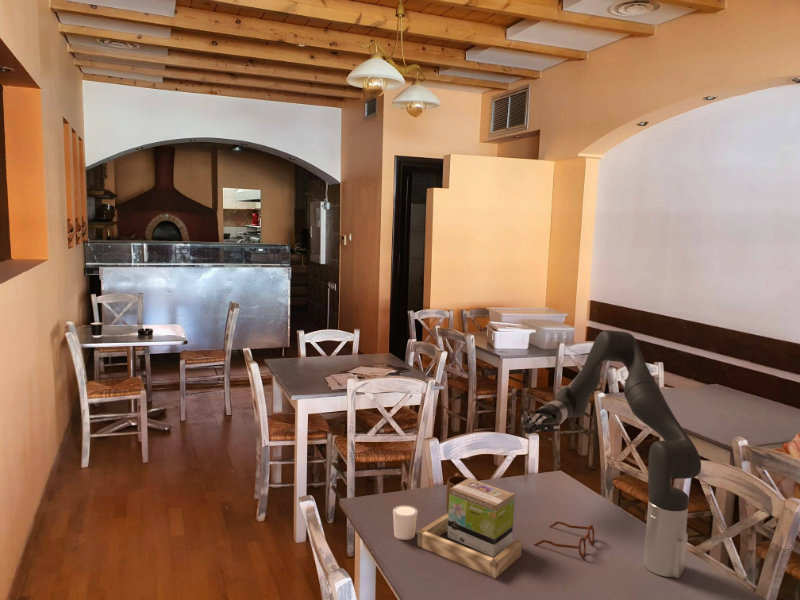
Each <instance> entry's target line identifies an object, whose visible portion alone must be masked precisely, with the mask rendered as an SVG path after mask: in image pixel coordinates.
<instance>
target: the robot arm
mask: <svg viewBox="0 0 800 600" xmlns="http://www.w3.org/2000/svg"><path fill="white" fill-rule="evenodd" d="M605 361H608V362H616V363H617V362H619V363H621V364H623V365H624V367H625V368H626V371H627V372H628V375H627V377H626V380H625V382H624V386H623V394H624V398H625V400H626V402H627V404H628V406H629V408H630V410H631V412H632V413H633V415H634V416H635V417H636V419H638V420H639V421H641V422H642V423H643V424H644V425H646V426H648V427H649V428H650V429H652V430H653V431H655V432H656V434H658V435H660V437H661V438H662V439H663V440H656V441H654V442H653V443H652V444H651V445H650V447H649V451H648V452H649V453H648V473H647V475H648V477H647V489H648V503H647V504H648V505H647V516H646V524H645V525H646V526H645V539H644V549H643V550H644V553H643V563H642V564H643V566H644V567H645V568H646V570H648V571H650V572H651V573H653V574H655V575H657V576H661V577H666V578H675V579H680V577H681V576H682V573H683V572H684V571H685V569H686V568H685V567H686V559H687V557H686V556H687V547H688V537H689V536H688V535H689V533H687V525H688V524H687V523H688V512H689V504H690V499H689V495H688V494H687V492H685V491H684V490H682V489H680V488H679V487H675V486H672V483H671V482H672V481H671V480H678V479H681V480H683V479H686V480H687V479H693V478H696V477H698V476H699V475H700V473H701V471H702V461H701V457H700V454H699V451H698V449H697V448H696V446H695V444H694V442H693V441H692V440H691V438H690V436H689V435H688V434H687V433H686V431H685V430H684V429H683V427H682V426H681V424H680V423H679V421H678V420H677V418H676V417H675V415H674V413H673V412H672V409H671V408H670V406H669V404H668V402H667V401H666V399H665V397H664V394H663V393H662V390H661V389H660V387H659V385H658V384H657V382H656V381H655V379H654V377H653V375H652V373H651V372H650V369H649V368H648V365H647V364H646V361H645V358H644V357H643V354H642V351H641V349H640V346H639V344H638V341H637V339H636V337H635V336H634V335H633V334H632V333H629V332H628V331H622V330H621V331H620V330H611V329H607V330H602V331H600V332H599V334H598V335H597V337H596V338H595V340H594V342H593V344H592V347H591V348H590V351H589V352H588V355H587V357H586V360H585V362H584V364H583V367H582V368H581V369H580V371H579V373H578V374H577V376H576V377H575V378H574V380H572V382H571V384H570V386H564V387H563V388H561V389H560V390H559V391H558V393H556V395H555V398H554V400H552V401H549V402H547V403H545V404H544V405H542V406H540V407H539V408H537V409H536V411H535V412H534V413H532V414H530V415H529V416H528V415H526V413H521V423H522V425H523V426H524V427H523V428H524V433H525V434H527V435H531V434H534V433H535V432H539V431H540V432H541V433H551V432H559V431H560V425H561V424H562V423H563V422H564V421H565V420H567V419H568V418H570V417H572V418H579V417H581V416H583V415H584V414H585V412H586V411H587V408H588V406H589V401H590V397H591V396H592V394H593V393H594V391H596V389H597V388H598V387H599V384H600V383H601V377H602V376H601V370H600V365H601V364H602V363H603V362H605Z"/></svg>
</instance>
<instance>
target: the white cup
mask: <svg viewBox="0 0 800 600" xmlns="http://www.w3.org/2000/svg"><path fill="white" fill-rule="evenodd" d="M418 512H419V511H418V509H417V507H414V506H412V505H397V506H395V507H394V508H393V509H392V516H393V517H392V520H393V534H394V535H393V536H394V537H395V538H396V539H398V540H402V541H404V540H405V541H407V540H408V541H409V540H411V539H413V538H414V537H415V536H416V535H415V534H416V530H417V529H416V528H417V521H418Z"/></svg>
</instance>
